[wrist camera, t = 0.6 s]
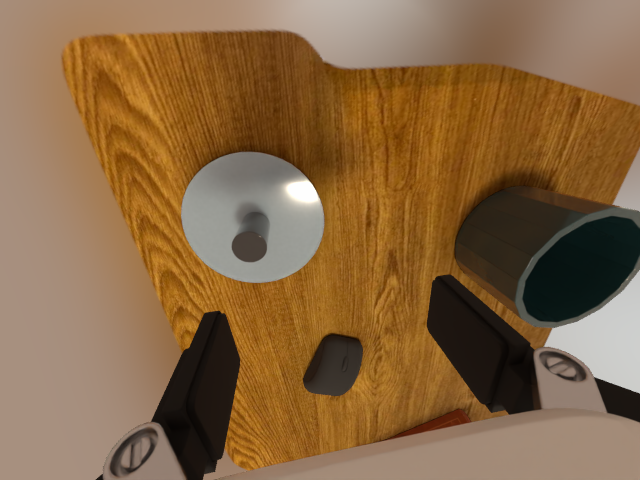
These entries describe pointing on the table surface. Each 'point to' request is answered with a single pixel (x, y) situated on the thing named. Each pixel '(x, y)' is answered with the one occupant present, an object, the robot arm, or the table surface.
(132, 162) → the table surface
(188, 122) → the table surface
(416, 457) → the robot arm
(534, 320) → the tin
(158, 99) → the table surface
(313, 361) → the computer mouse
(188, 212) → the lid
